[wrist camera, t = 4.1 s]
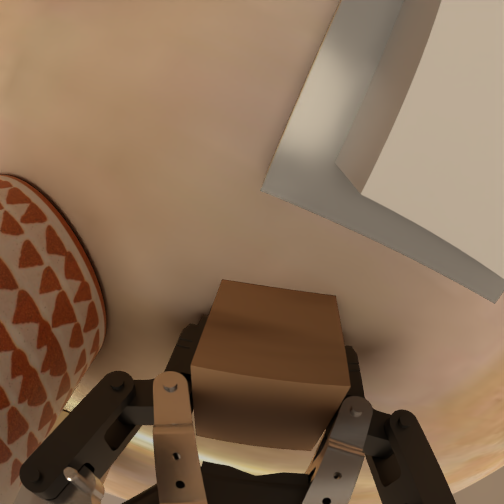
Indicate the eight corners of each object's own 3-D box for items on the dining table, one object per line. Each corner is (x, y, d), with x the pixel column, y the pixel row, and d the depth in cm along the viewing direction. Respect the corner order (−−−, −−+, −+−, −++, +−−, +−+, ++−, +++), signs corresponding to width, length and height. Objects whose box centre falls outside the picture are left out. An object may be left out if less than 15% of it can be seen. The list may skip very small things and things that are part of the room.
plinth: (464, 266, 11) (530, 354, 6) (267, 169, 11) (243, 235, 5) (541, 90, 7) (631, 109, 1) (361, -45, 6) (405, -130, 1)
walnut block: (310, 369, 15) (311, 450, 11) (218, 356, 15) (196, 435, 11) (335, 295, 13) (350, 386, 8) (222, 279, 13) (190, 364, 9)
